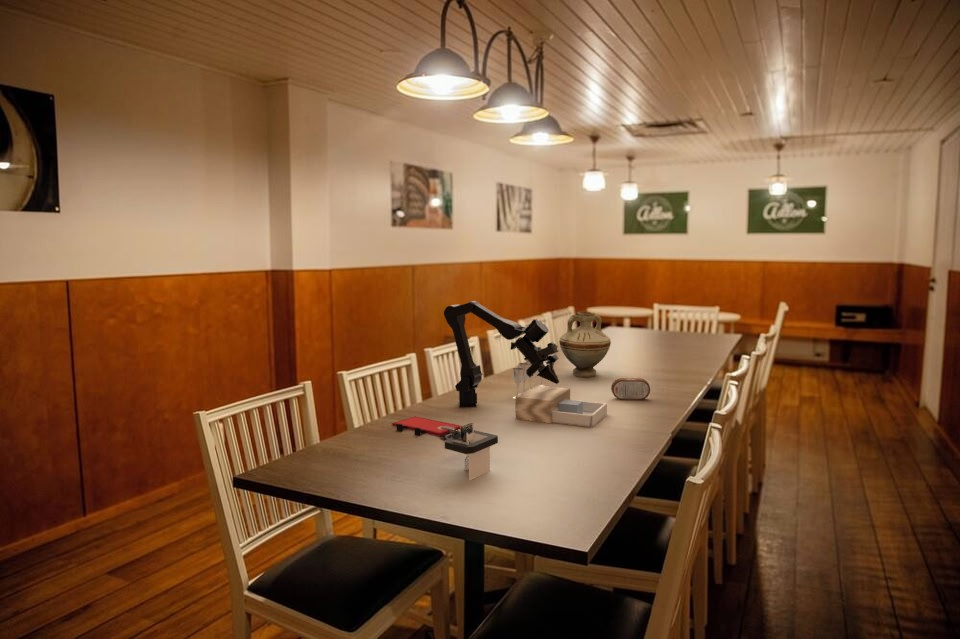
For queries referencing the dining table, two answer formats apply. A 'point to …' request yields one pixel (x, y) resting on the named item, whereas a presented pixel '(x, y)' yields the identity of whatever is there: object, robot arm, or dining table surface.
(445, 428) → the red board with handle
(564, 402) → the block
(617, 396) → the tin
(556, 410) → the tray
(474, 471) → the black-topped pedestal
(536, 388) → the wood grain box
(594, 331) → the amphora
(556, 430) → the dining table surface
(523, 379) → the goblet set
